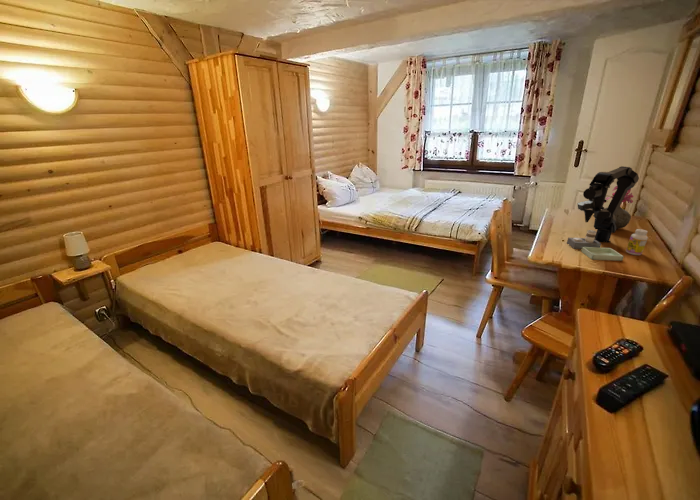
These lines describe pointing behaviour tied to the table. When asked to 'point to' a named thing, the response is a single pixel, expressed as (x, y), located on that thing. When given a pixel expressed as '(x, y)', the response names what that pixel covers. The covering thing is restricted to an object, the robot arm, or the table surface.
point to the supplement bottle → (637, 242)
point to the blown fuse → (590, 236)
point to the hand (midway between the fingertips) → (590, 224)
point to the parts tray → (602, 253)
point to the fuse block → (582, 243)
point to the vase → (622, 211)
